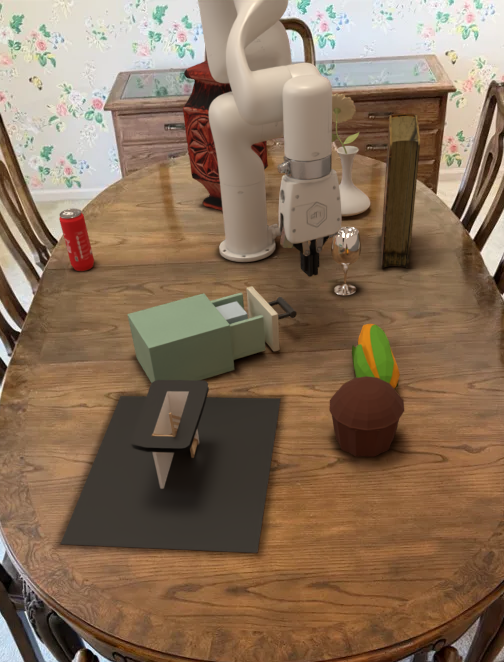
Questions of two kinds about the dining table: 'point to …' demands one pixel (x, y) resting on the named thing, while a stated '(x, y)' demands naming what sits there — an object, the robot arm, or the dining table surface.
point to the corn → (375, 356)
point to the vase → (207, 132)
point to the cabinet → (182, 340)
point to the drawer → (255, 323)
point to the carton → (232, 312)
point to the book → (400, 188)
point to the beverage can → (76, 239)
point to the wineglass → (346, 254)
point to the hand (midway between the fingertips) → (310, 272)
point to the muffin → (366, 415)
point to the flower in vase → (347, 159)
